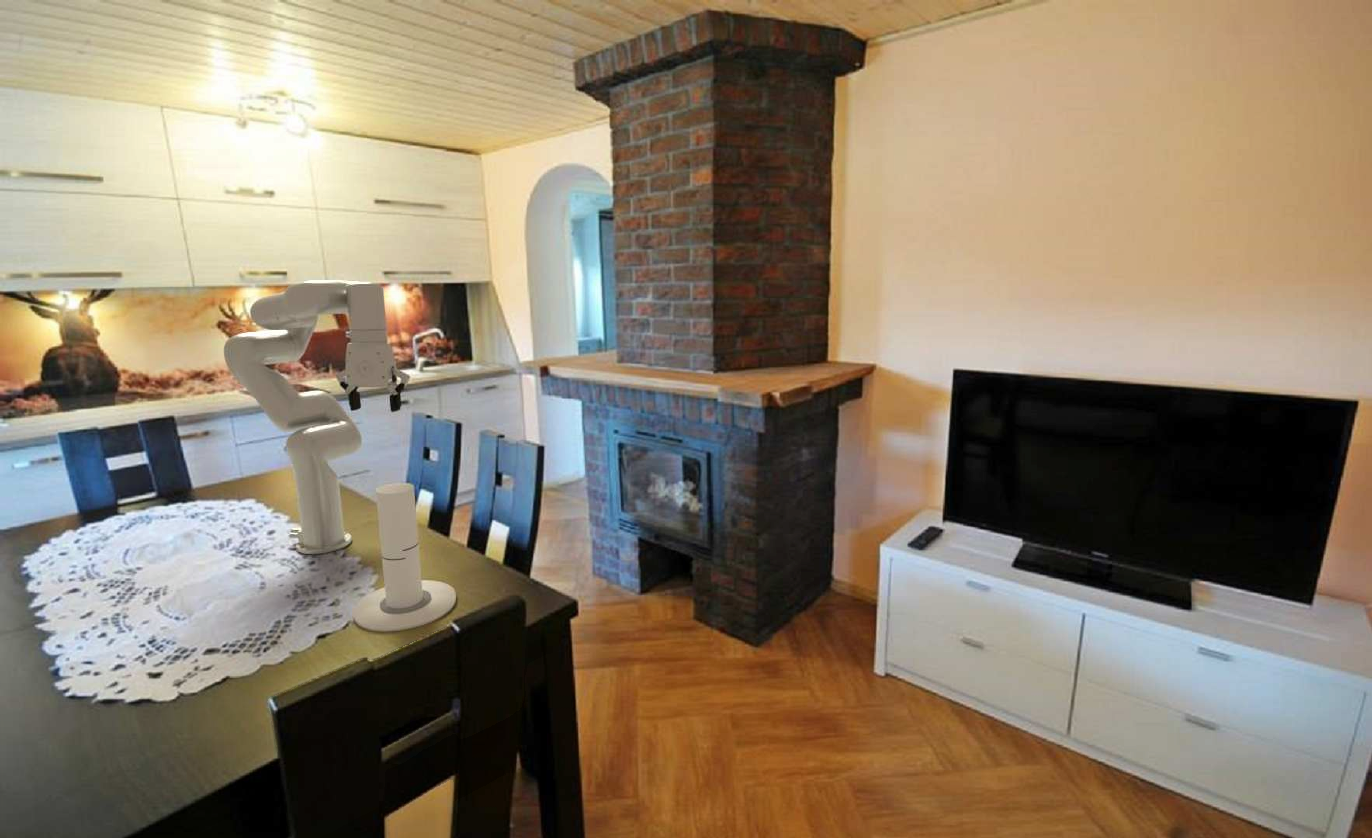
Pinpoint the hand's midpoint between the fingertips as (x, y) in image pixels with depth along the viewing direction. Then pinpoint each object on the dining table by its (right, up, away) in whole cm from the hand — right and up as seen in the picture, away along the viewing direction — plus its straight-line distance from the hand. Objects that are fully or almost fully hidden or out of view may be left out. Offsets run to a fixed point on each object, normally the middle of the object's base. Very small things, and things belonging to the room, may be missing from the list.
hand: (375, 410), depth 146 cm
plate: (+13, -42, -13) cm, 46 cm away
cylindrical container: (+13, -41, -13) cm, 45 cm away
